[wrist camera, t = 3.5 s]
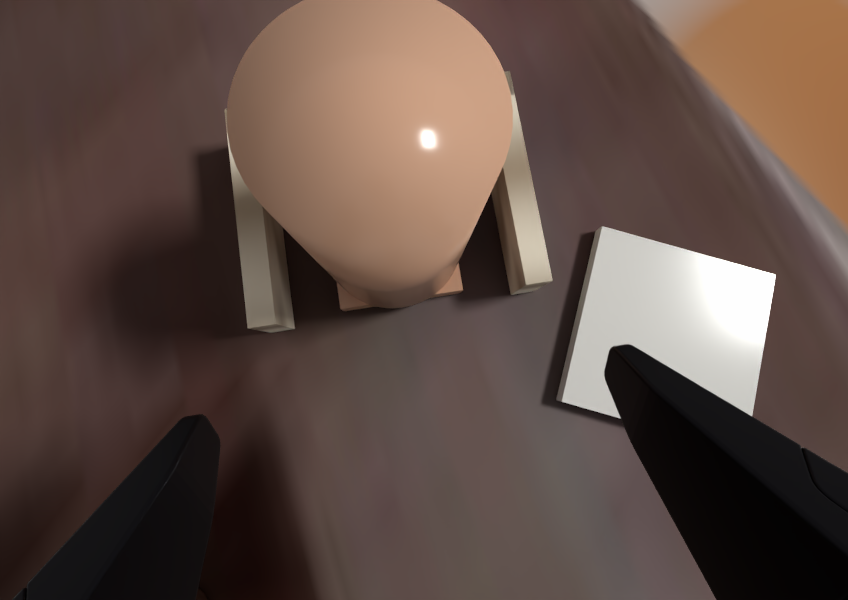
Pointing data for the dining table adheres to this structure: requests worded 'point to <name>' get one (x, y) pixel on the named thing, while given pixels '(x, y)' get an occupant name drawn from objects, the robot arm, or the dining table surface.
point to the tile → (667, 319)
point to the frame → (268, 254)
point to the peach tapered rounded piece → (373, 140)
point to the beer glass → (201, 595)
